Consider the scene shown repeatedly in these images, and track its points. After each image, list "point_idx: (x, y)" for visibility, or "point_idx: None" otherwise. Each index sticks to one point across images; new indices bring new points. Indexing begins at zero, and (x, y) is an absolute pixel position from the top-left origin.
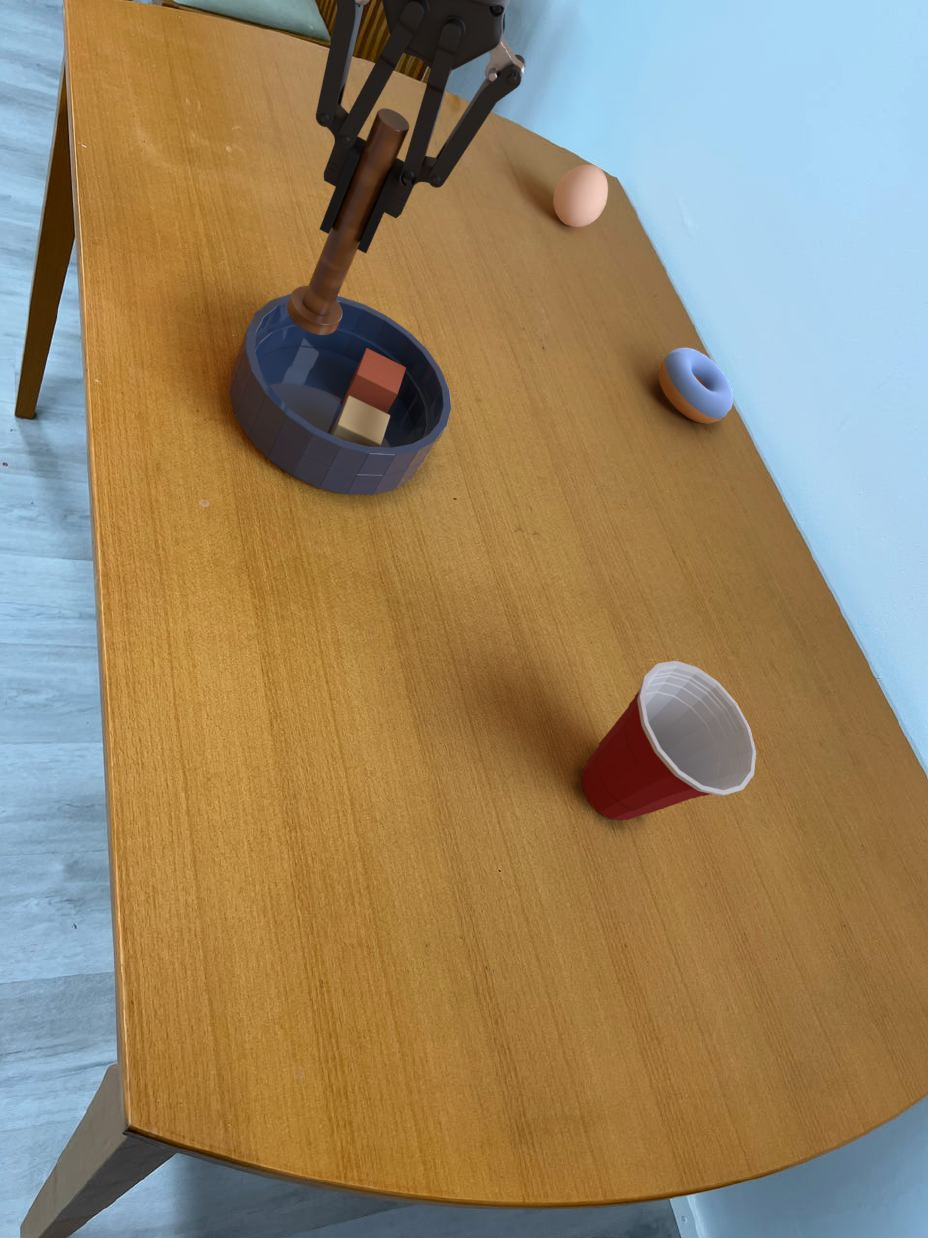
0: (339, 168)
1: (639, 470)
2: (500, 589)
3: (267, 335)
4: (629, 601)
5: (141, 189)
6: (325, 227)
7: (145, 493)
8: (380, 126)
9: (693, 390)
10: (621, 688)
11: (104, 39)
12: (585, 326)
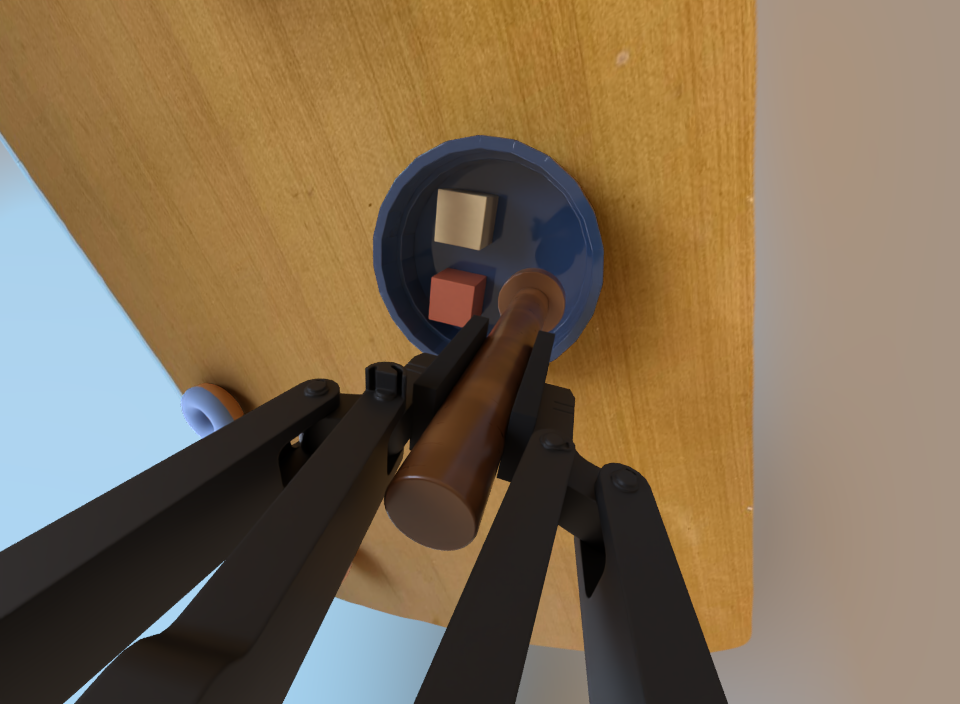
0: (546, 404)
1: (237, 315)
2: (309, 97)
3: (570, 313)
4: (205, 147)
5: (692, 475)
6: (546, 334)
7: (696, 35)
8: (463, 481)
9: (205, 402)
10: (180, 14)
11: (724, 623)
12: None
